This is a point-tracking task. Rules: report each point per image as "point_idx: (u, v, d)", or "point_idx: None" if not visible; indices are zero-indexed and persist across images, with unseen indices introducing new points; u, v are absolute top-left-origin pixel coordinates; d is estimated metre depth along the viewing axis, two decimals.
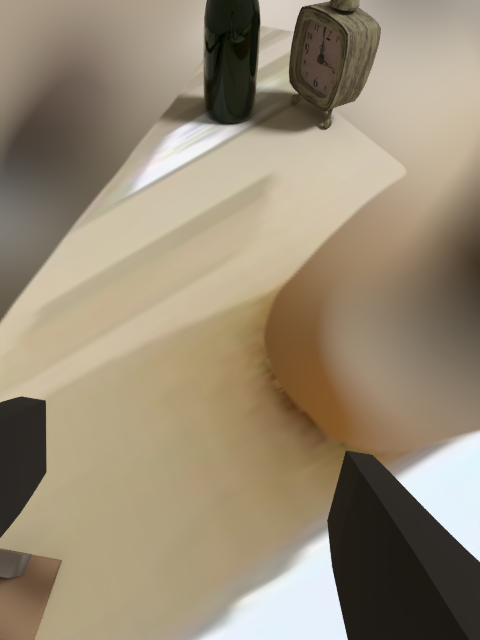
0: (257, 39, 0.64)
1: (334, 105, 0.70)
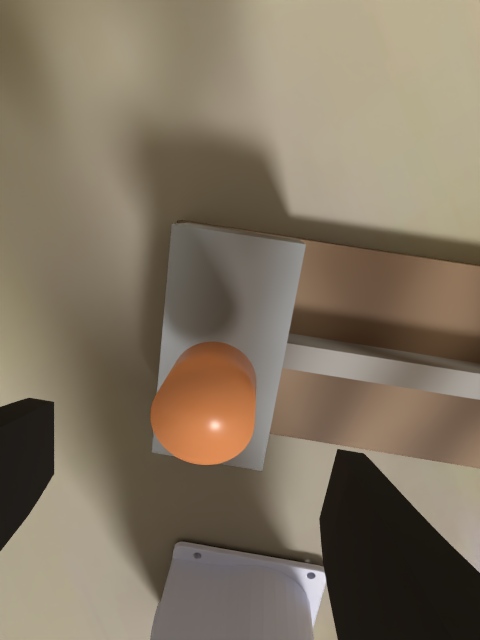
0: None
1: None
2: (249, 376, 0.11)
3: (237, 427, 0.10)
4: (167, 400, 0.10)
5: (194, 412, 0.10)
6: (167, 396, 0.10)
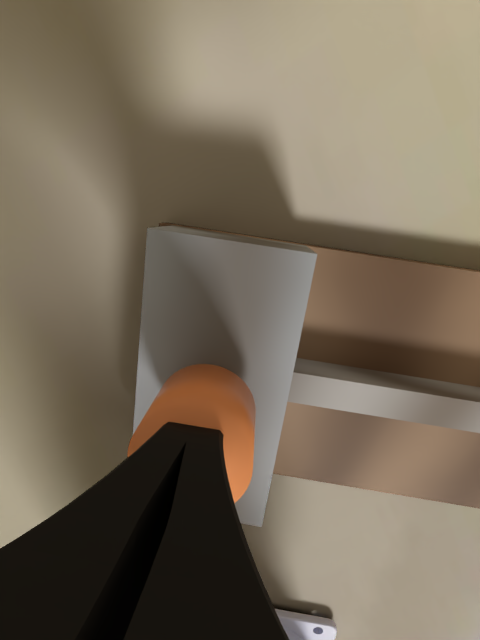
0: None
1: None
2: (246, 407, 0.10)
3: (232, 472, 0.09)
4: None
5: None
6: (147, 436, 0.08)
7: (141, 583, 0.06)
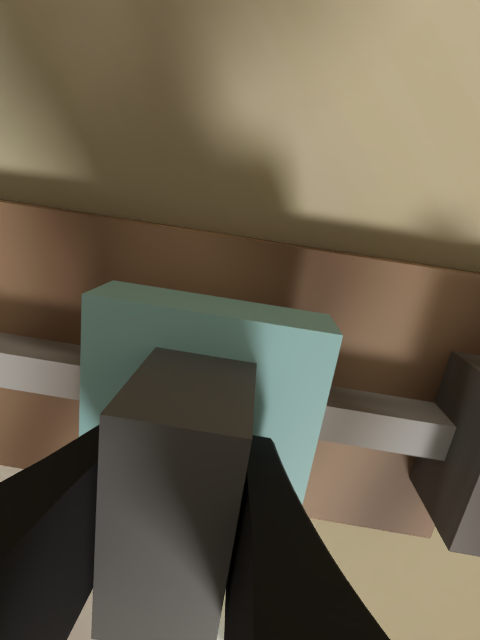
0: None
1: None
2: None
3: None
4: None
5: None
6: None
7: (69, 570, 0.06)
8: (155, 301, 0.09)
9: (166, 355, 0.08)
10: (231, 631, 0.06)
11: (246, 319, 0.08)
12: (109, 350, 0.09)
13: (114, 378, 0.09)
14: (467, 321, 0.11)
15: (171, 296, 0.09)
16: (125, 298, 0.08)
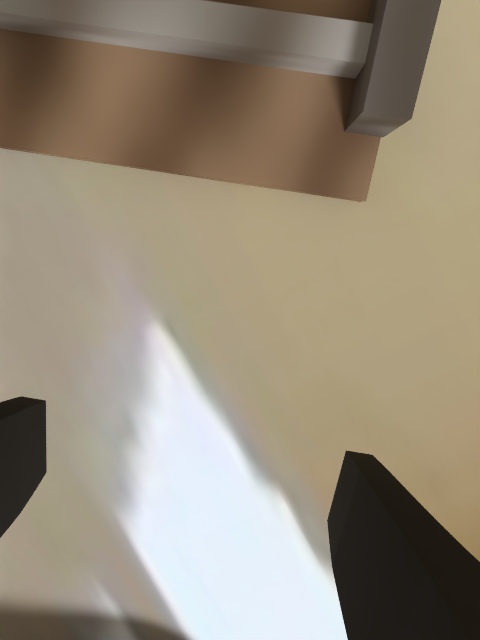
0: None
1: None
2: None
3: None
4: None
5: None
6: None
7: None
8: None
9: None
10: None
11: None
12: None
13: None
14: None
15: None
16: None
